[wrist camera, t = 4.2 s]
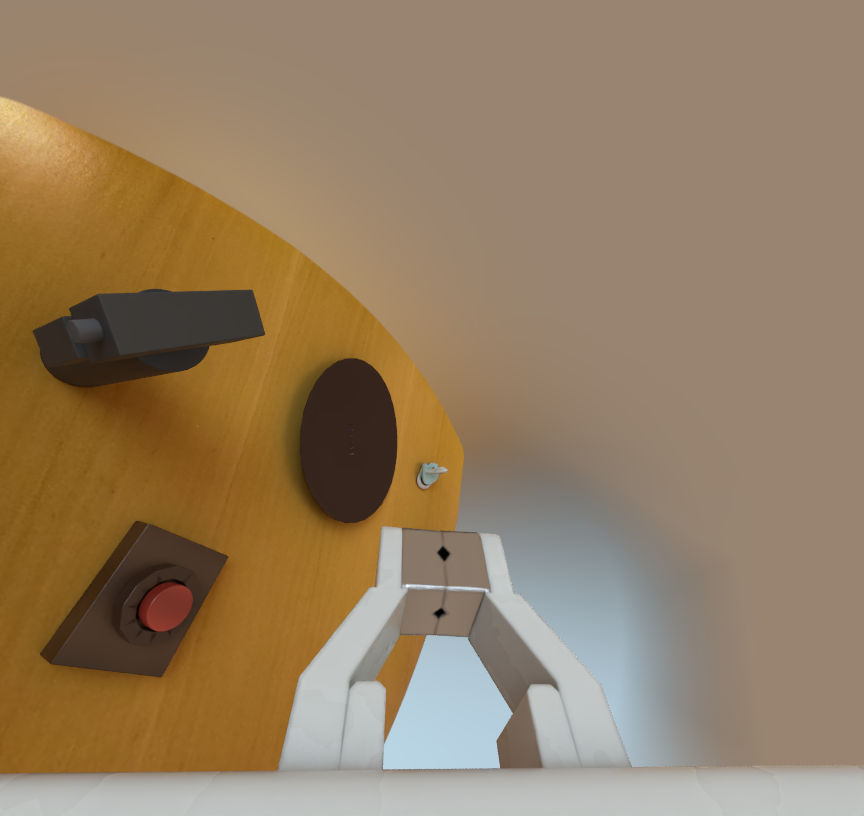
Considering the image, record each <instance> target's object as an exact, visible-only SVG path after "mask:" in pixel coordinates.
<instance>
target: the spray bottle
mask: <svg viewBox="0 0 864 816" xmlns="http://www.w3.org/2000/svg"><path fill="white" fill-rule="evenodd" d="M69 310H70V312H71V315H72V317H73V320H69V321H68V324H67V326H68V331H69V334H70V336H71V338H72V339H73V341H74V342H75V343H77V344H81V343H83V345H84V348H85V350H86V353H87V355H88V358H89V360H88V361H85V362H81V363H77V364H70V365H63V366H57V367H50V368H49V367H48V366H47V364H46V362H45V359H44V357H43V355H42V352H41V350H40V354H41V359H42V362H43V364H44V365H45V367H46V368H47V370H48V371H49V372H50V373H51V374H52V375H53V376H55V377H56V378H58V379H59V380H61V381H63V382H65V383H67V384H70V385H74V386H79V387H96V386H101V385H107V384H113V383H118V382H124V381H129V380H135V379H140V378H146V377H151V376H157V375H162V374H168V373H173V372H179V371H184V370H188V369H190V368H192V367H194V366H196V365H197V364H198V363H200V362H201V361H202V360H203V358H204V357H205V356H206V354H207V352H208V349H209V346H212V345H218V344H225V343H231V342H236V341H241V340H245V339H250V338H254V337H259V336H263V335H265V332H264V328H263V325H262V321H261V318H260V314H259V311H258V307H257V304H256V300H255V297H254V293H253V290H222V291H185V292H171V291H168V290H162V289H149V290H144V291H141V292H138V293H113V294H97V295H95V296H93V297H91V298H89V299H87V300H85V301H83V302H81V303H79V304H77V305H75V306H73V307H71V308H69Z"/></svg>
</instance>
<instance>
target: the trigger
mask: <svg viewBox="0 0 864 816" xmlns="http://www.w3.org/2000/svg"><path fill="white" fill-rule="evenodd" d="M69 320H73V317H72V316H64V317H61V318H59V319H56V320H54V321H52V322H50V323H48V324H46V325H44V326H41V327H39V328H37V329H35V330H33V333H34V336H35V338H36V340H37V343H38V345H39V347H40V350H41V352H42V355H43V357H44V359H45V362H46V364H47V366H48V367H49V368H50V367H57V366H63V365H70V364H77V363H81V362H85V361H88V360H89V358H88V355H87V353H86V350H85V348H84V345H83V343H81V344H77V343H75V342H74V341H73V339H72V338H71V336H70V334H69V331H68V326H67V324H68V321H69Z"/></svg>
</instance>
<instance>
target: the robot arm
mask: <svg viewBox="0 0 864 816" xmlns="http://www.w3.org/2000/svg"><path fill="white" fill-rule="evenodd" d="M399 635H439V636H456V637H469V638H468V640H469V642H470V643H471V645H472V647H473V648H474V650H475V651H476V653H477V654H478V656H479V658H480V660H481V661H482V663H483V664H484V666H485V668H486V669H487V671H488V673H489V674H490V676H491V678H492V680H493V681H494V683H495V684H496V686H497V688H498V689H499V691H500V693H501V694H502V696H503V698H504V699H505V701H506V703H507V704H508V706H509V708H510V709H511V711H512V712H513V715H512V716H511V718H510V719H509V721H508V723H507V724H506V726H505V728H504V729H503V731H502V733H501V734H500V736H499V738H498V739H497V748H498V755H499V762H500V768H493V769H397V770H396V769H392V770H383V749H384V726H385V701H386V689H385V688H384V686H383V685H382V684H381V683H380V682H379V681H374V680H375V678H376V676H377V675H378V673H379V671H380V669H381V668H382V666H383V664H384V662H385V661H386V659H387V657H388V655H389V654H390V652H391V650H392V648H393V647H394V645H395V643H396V641H397V640H398V638H399ZM0 816H864V765H789V766H689V767H632V766H631V763H630V761H629V758H628V755H627V753H626V750H625V747H624V745H623V742H622V739H621V737H620V734H619V731H618V729H617V726H616V723H615V721H614V718H613V715H612V713H611V710H610V707H609V705H608V702H607V699H606V697H605V694H604V691H603V689H602V686H601V684H600V683H599V681H598V680H597V679H596V678H595V677H594V676H593V675H592V674H591V672H590V671H589V670H588V669H587V668H586V667H585V666H584V665H583V664H582V662H581V661H580V660H579V659H578V658H577V657H576V656H575V655H574V654H573V652H572V651H571V650H570V649H569V648H568V647H567V646H566V645H565V643H564V642H563V641H562V640H561V639H560V638H559V637H558V636H557V634H556V633H555V632H554V631H553V630H552V629H551V628H550V627H549V626H548V624H547V623H546V622H545V621H544V620H543V619H542V618H541V617H540V616H539V615H538V613H537V612H536V611H535V610H534V609H533V608H532V607H531V605H530V604H529V603H528V602H527V601H526V600H525V599H524V598H523V597H522V595H521V594H514V590H513V586H512V583H511V578H510V574H509V570H508V566H507V562H506V559H505V555H504V551H503V547H502V543H501V539H500V537H499V536H498V534H486V533H475V532H456V531H432V530H421V529H411V528H398V527H386V526H382V528H381V536H380V544H379V552H378V560H377V568H376V577H375V587H370V588H369V589H368V590H367V592H366V593H365V594H364V595H363V597H362V598H361V599H360V600H359V602H358V603H357V604H356V606H355V607H354V608H353V609H352V611H351V612H350V613H349V614H348V616H347V617H346V618H345V620H344V621H343V622H342V623H341V625H340V626H339V627H338V628H337V630H336V631H335V632H334V634H333V635H332V636H331V637H330V639H329V640H328V641H327V642H326V644H325V645H324V646H323V648H322V649H321V650H320V651H319V653H318V654H317V655H316V656H315V658H314V659H313V660H312V662H311V663H310V664H309V665H308V667H307V668H306V669H305V670H304V672H303V673H302V674H301V676H300V677H299V680H298V684H297V689H296V693H295V697H294V702H293V706H292V711H291V715H290V719H289V724H288V728H287V732H286V737H285V741H284V745H283V750H282V754H281V758H280V763H279V767H278V771H195V772H97V773H0Z"/></svg>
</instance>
